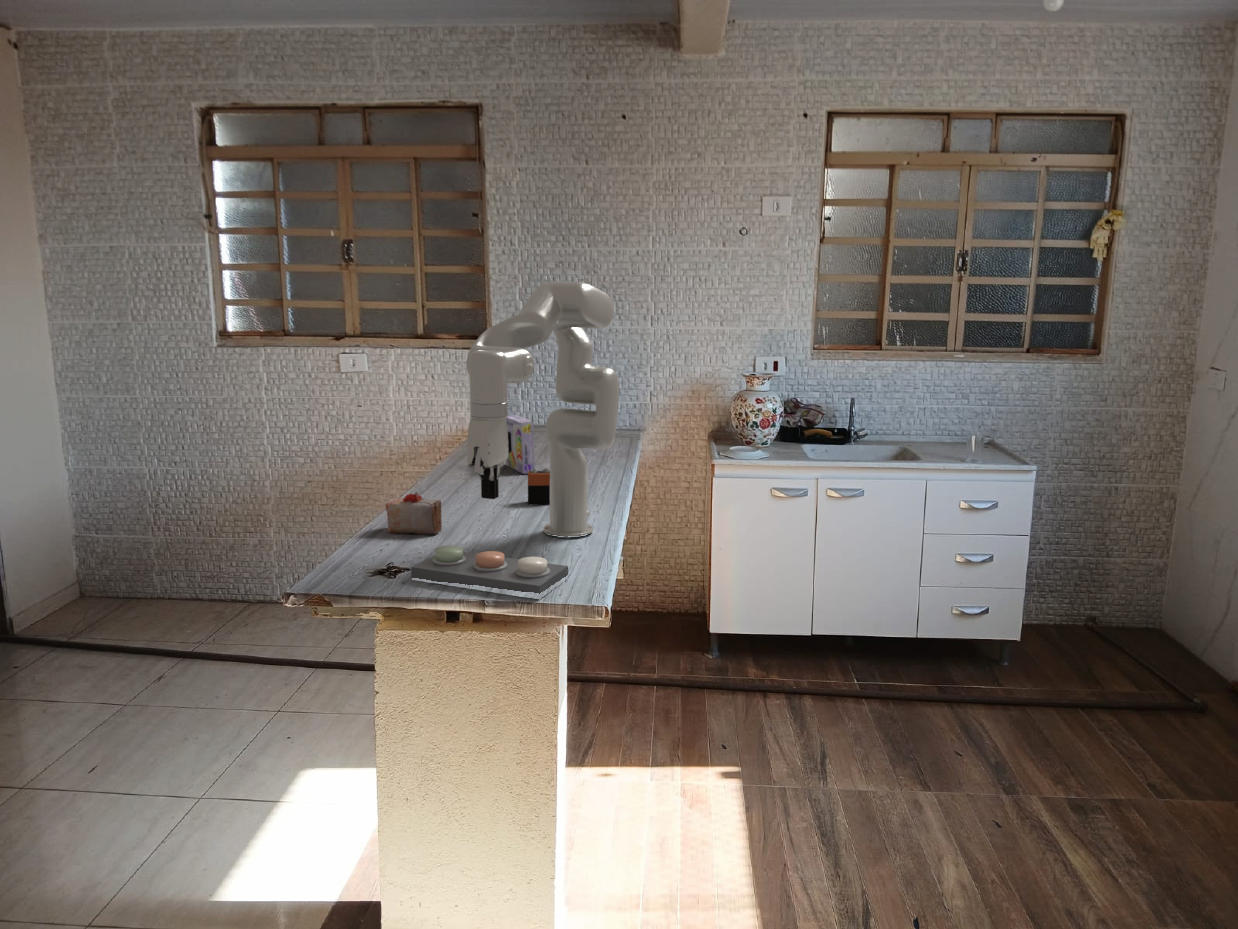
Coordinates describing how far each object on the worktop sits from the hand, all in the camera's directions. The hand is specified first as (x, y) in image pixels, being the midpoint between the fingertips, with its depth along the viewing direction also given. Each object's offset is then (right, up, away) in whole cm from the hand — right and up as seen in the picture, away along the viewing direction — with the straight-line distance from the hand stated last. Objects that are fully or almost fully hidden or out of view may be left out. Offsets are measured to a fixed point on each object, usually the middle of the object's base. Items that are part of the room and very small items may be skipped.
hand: (490, 497), depth 187 cm
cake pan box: (-7, +5, +117) cm, 117 cm away
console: (0, -18, +3) cm, 18 cm away
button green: (-10, -14, +6) cm, 18 cm away
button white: (+9, -16, -1) cm, 18 cm away
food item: (-25, -10, +39) cm, 48 cm away
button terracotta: (0, -15, +3) cm, 15 cm away
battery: (+4, -4, +71) cm, 71 cm away
